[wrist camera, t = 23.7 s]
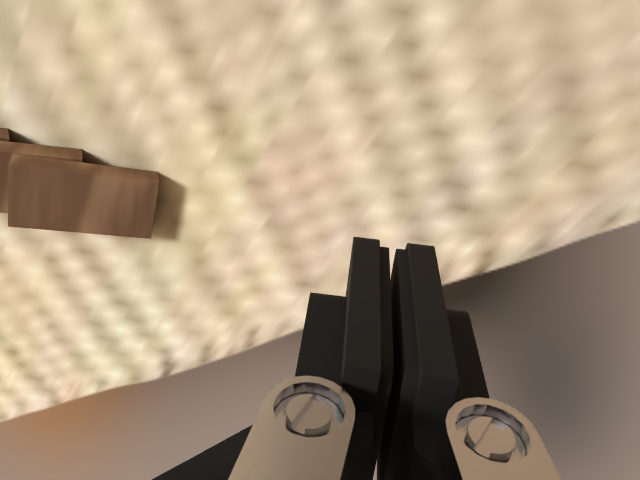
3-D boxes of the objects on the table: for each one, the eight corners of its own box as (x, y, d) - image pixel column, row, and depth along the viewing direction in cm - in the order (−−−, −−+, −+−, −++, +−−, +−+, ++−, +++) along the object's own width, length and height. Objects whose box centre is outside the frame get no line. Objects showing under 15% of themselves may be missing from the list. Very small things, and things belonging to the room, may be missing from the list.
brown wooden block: (150, 226, 45) (12, 213, 42) (158, 172, 43) (12, 153, 39) (150, 238, 44) (8, 226, 40) (159, 183, 42) (7, 164, 38)
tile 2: (78, 205, 45) (-70, 195, 41) (82, 149, 43) (-75, 132, 38) (78, 217, 44) (-75, 208, 39) (82, 159, 41) (-81, 143, 37)
